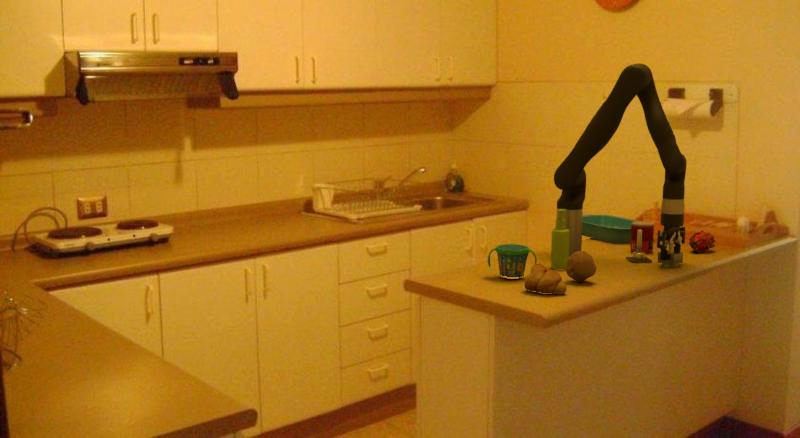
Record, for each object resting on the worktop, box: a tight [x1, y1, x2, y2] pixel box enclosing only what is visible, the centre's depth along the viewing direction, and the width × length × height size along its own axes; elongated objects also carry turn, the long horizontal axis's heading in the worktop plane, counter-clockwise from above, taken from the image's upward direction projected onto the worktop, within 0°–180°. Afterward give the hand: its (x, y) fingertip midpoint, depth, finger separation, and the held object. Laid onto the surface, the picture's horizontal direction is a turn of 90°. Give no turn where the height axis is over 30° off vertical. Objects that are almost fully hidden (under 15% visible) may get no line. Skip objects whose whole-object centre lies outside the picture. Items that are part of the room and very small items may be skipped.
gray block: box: [657, 249, 684, 265], centre depth 289 cm, size 6×6×4 cm
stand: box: [625, 230, 653, 264], centre depth 297 cm, size 7×7×11 cm
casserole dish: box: [582, 214, 643, 245], centre depth 344 cm, size 37×22×7 cm, turn 28°
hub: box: [661, 242, 679, 268], centre depth 289 cm, size 5×5×8 cm
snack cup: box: [487, 243, 538, 277], centre depth 272 cm, size 16×10×10 cm
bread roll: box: [524, 263, 568, 295], centre depth 253 cm, size 13×10×8 cm
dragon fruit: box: [688, 229, 716, 254], centre depth 313 cm, size 8×8×12 cm
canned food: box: [629, 220, 655, 255], centre depth 312 cm, size 8×8×11 cm
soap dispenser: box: [550, 209, 570, 270], centre depth 286 cm, size 6×7×20 cm
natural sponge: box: [565, 250, 597, 283], centre depth 266 cm, size 9×9×10 cm
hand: (670, 258), depth 289 cm, fingers open, 8 cm apart
